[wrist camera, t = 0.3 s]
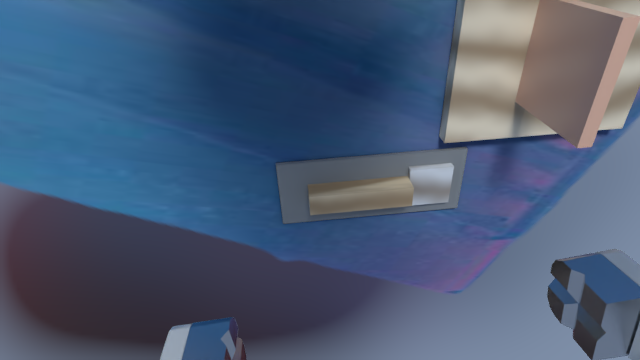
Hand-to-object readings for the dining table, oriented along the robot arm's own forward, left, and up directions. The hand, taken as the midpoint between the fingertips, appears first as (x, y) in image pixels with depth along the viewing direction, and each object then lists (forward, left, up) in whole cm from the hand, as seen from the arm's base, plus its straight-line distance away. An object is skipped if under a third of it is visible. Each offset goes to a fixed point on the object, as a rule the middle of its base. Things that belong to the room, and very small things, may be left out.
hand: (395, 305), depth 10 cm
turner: (+23, +9, -39) cm, 46 cm away
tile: (+5, +26, -37) cm, 46 cm away
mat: (+23, +8, -39) cm, 46 cm away
